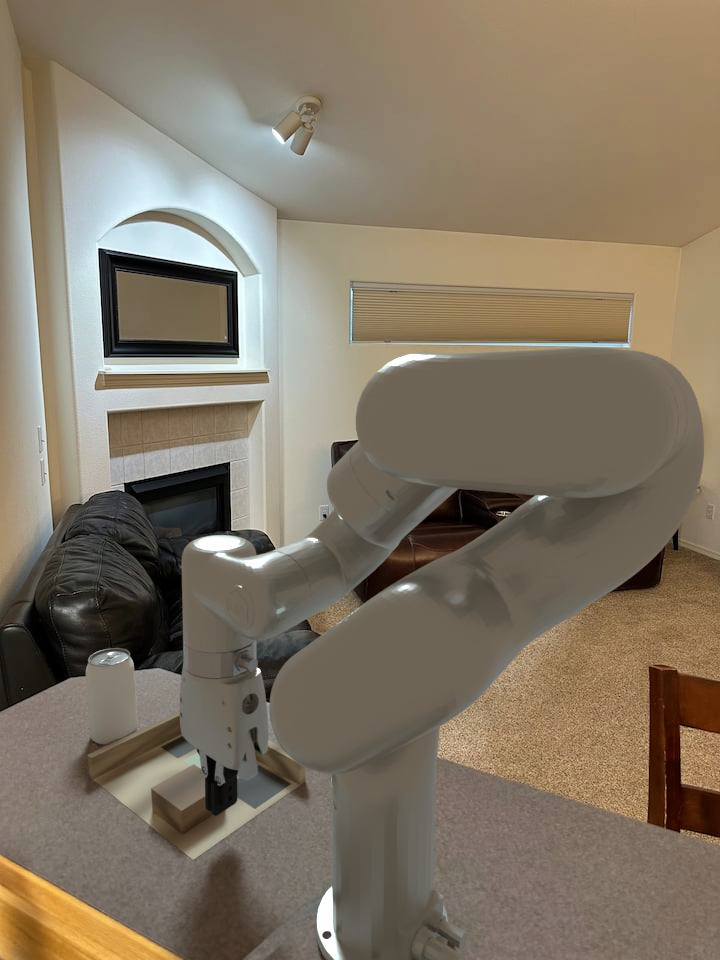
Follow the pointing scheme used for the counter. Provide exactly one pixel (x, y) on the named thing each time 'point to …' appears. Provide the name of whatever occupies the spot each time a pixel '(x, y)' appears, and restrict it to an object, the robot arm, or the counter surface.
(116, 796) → the board
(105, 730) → the can
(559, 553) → the robot arm
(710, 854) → the counter surface
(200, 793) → the block
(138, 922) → the counter surface
